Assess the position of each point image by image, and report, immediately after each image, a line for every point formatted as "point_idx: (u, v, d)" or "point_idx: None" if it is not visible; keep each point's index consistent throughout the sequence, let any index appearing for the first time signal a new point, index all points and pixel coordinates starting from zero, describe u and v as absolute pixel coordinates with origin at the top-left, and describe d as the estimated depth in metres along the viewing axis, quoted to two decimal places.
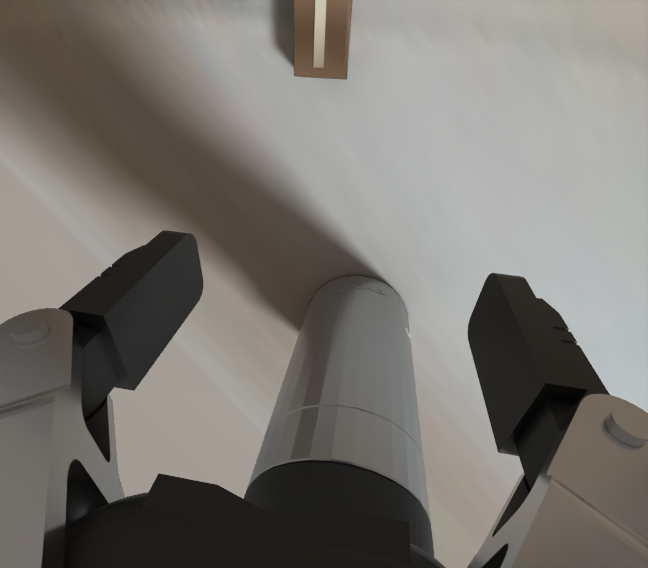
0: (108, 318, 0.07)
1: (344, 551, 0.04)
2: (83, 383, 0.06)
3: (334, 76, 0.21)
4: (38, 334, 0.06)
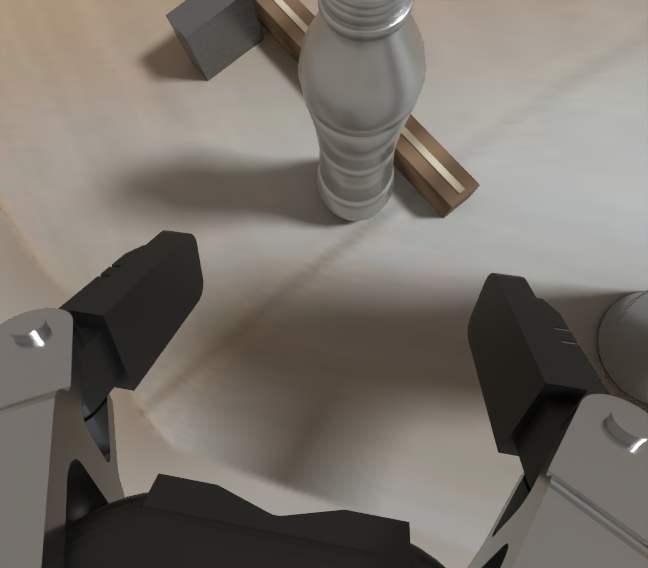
0: (108, 318, 0.07)
1: (344, 550, 0.04)
2: (83, 383, 0.06)
3: (474, 188, 0.29)
4: (38, 334, 0.06)
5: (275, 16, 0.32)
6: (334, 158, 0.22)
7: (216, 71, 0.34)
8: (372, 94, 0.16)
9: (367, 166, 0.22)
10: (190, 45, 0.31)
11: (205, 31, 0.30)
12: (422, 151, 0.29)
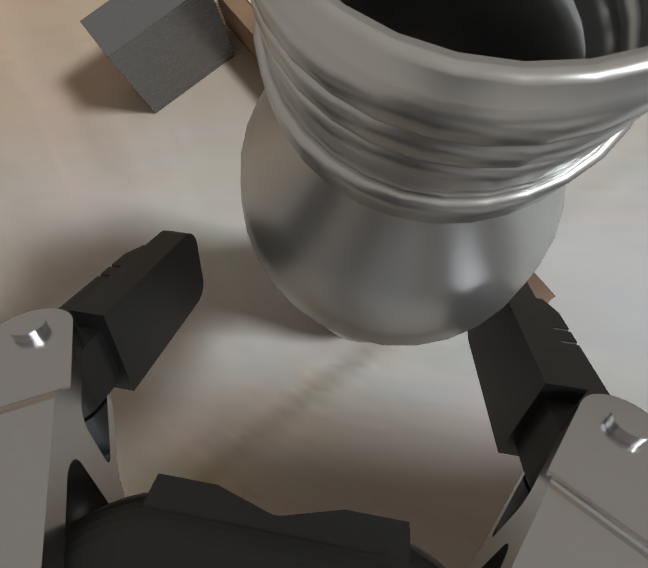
0: (108, 318, 0.07)
1: (344, 551, 0.04)
2: (83, 383, 0.06)
3: (546, 300, 0.18)
4: (38, 334, 0.06)
5: (250, 24, 0.22)
6: None
7: (166, 100, 0.24)
8: (432, 303, 0.05)
9: None
10: (118, 67, 0.20)
11: (140, 46, 0.20)
12: None
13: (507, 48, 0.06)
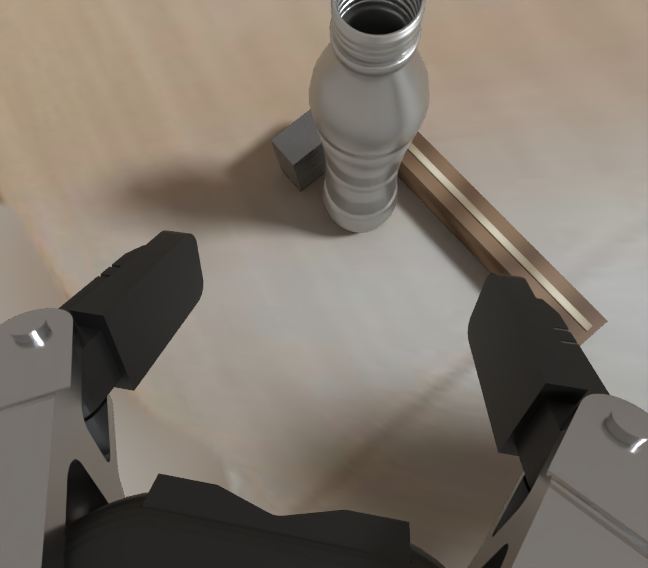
0: (108, 318, 0.07)
1: (344, 551, 0.04)
2: (83, 383, 0.06)
3: (602, 324, 0.27)
4: (38, 334, 0.06)
5: None
6: (341, 176, 0.23)
7: (310, 182, 0.33)
8: (380, 122, 0.17)
9: (373, 184, 0.23)
10: (295, 169, 0.29)
11: (311, 155, 0.29)
12: (543, 283, 0.28)
13: None
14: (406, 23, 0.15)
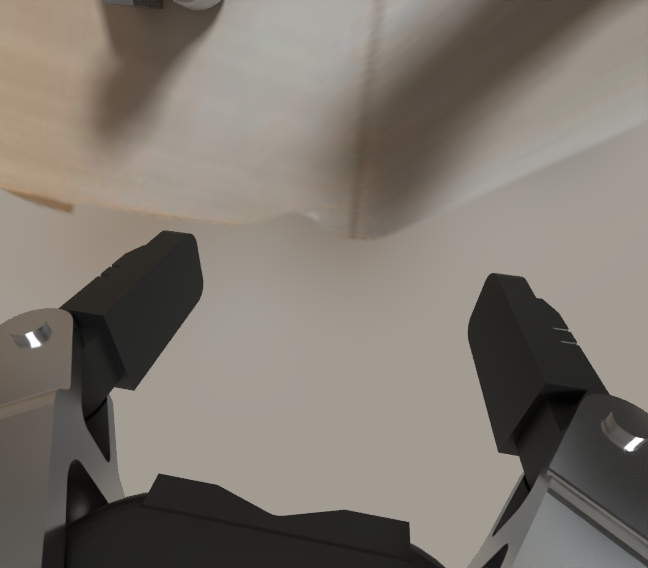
0: (108, 318, 0.07)
1: (345, 551, 0.04)
2: (83, 383, 0.06)
3: None
4: (38, 334, 0.06)
5: None
6: None
7: None
8: None
9: None
10: (139, 4, 0.32)
11: None
12: None
13: None
14: None
